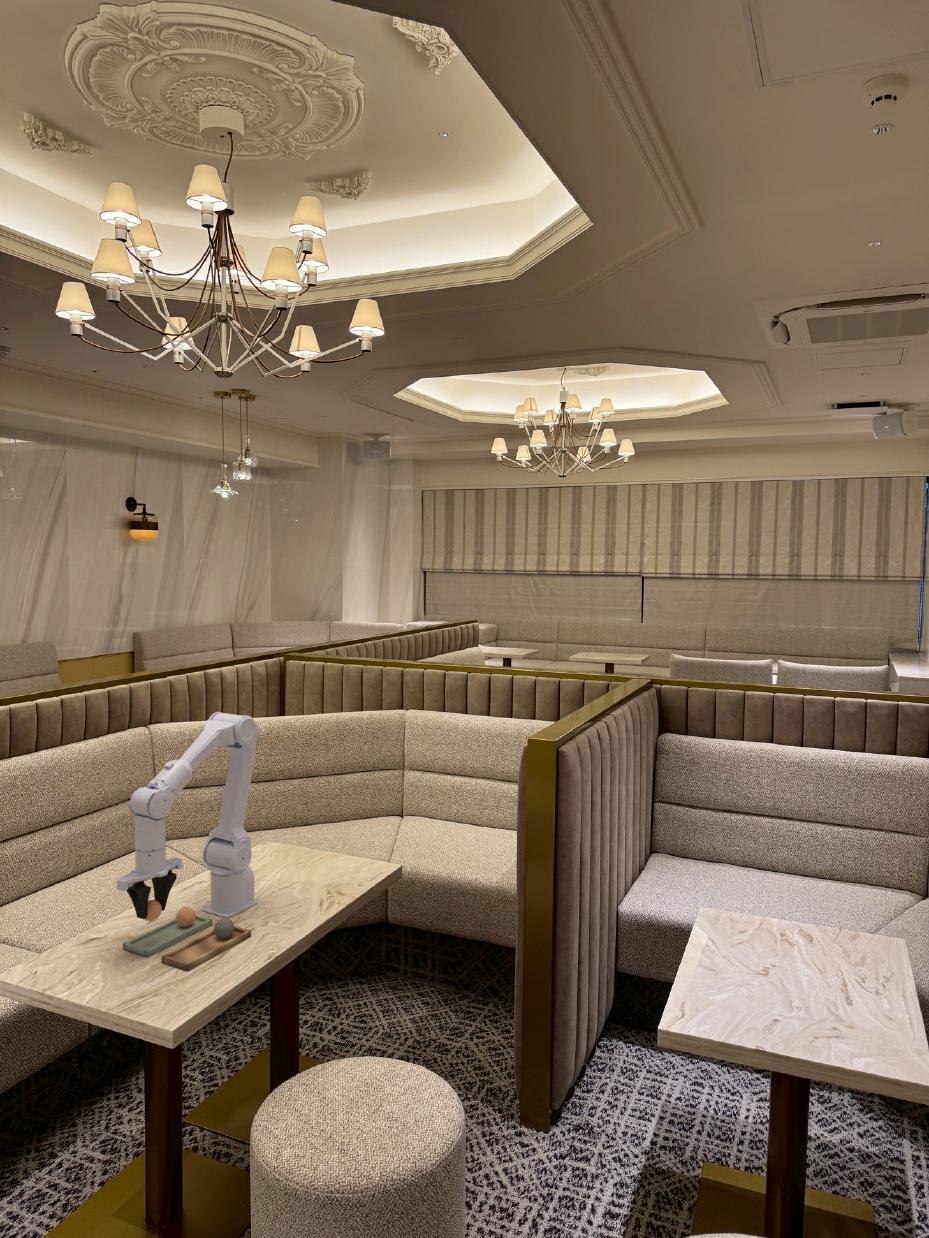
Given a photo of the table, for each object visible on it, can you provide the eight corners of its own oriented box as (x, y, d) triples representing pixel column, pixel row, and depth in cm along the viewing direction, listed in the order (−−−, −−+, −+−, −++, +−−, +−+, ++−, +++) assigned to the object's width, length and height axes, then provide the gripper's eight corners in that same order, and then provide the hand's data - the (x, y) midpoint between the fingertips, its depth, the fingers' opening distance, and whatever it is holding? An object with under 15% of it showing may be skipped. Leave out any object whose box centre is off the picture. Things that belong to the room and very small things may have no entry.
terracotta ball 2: (186, 920, 174) (186, 902, 174) (200, 924, 172) (199, 906, 172) (171, 927, 171) (171, 908, 171) (185, 931, 169) (185, 912, 169)
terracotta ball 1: (152, 914, 166) (152, 895, 166) (166, 918, 164) (166, 899, 164) (136, 921, 163) (136, 901, 162) (149, 925, 161) (150, 905, 160)
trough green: (188, 917, 177) (188, 912, 177) (212, 924, 173) (212, 919, 173) (123, 949, 162) (122, 943, 162) (147, 957, 159) (147, 951, 158)
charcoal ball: (224, 931, 169) (224, 913, 169) (238, 936, 167) (238, 917, 167) (209, 939, 166) (209, 920, 165) (224, 943, 164) (224, 924, 163)
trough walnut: (226, 928, 172) (226, 923, 172) (250, 936, 168) (250, 930, 168) (161, 962, 157) (161, 956, 157) (187, 971, 153) (187, 965, 153)
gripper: (134, 862, 154) (134, 931, 155) (192, 840, 167) (193, 904, 168) (109, 855, 158) (110, 923, 158) (168, 834, 170) (168, 897, 171)
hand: (151, 913), depth 163 cm, fingers closed on terracotta ball 1, 4 cm apart
